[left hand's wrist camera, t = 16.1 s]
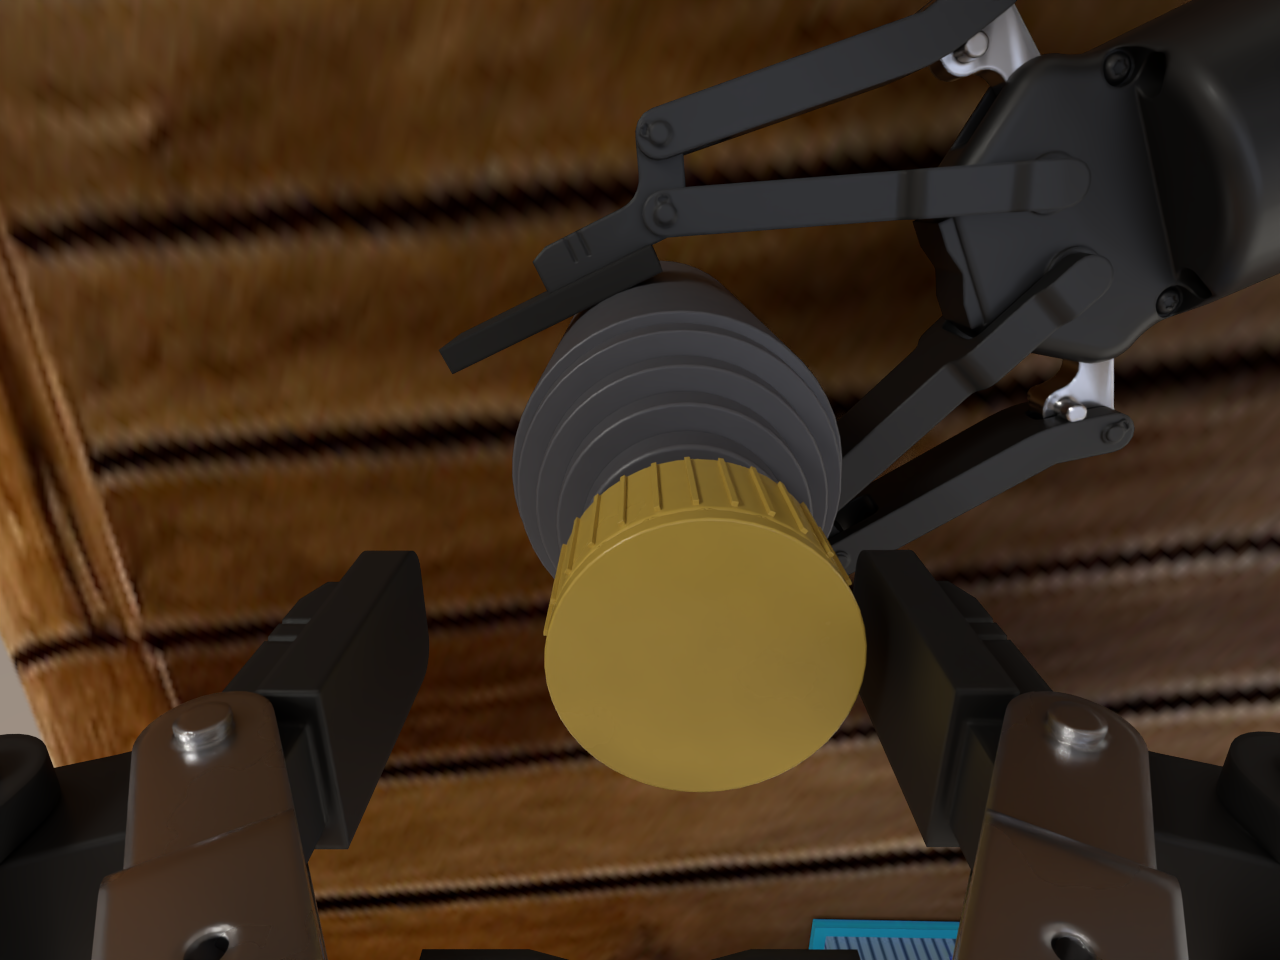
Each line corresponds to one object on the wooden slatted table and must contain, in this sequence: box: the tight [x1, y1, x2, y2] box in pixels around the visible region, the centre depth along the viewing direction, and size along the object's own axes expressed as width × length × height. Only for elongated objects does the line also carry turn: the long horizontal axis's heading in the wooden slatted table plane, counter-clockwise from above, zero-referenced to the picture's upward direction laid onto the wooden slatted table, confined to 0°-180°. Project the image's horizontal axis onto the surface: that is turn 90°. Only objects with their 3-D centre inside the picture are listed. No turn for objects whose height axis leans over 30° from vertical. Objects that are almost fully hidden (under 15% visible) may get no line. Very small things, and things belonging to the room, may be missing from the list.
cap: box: [544, 457, 867, 792], centre depth 11 cm, size 4×4×2 cm
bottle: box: [512, 261, 842, 579], centre depth 19 cm, size 7×7×20 cm
